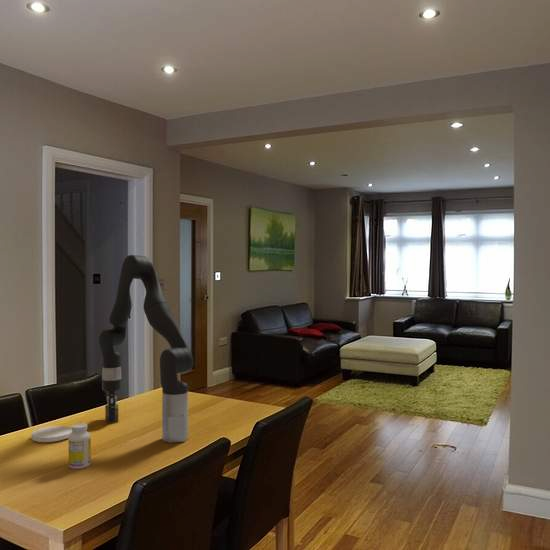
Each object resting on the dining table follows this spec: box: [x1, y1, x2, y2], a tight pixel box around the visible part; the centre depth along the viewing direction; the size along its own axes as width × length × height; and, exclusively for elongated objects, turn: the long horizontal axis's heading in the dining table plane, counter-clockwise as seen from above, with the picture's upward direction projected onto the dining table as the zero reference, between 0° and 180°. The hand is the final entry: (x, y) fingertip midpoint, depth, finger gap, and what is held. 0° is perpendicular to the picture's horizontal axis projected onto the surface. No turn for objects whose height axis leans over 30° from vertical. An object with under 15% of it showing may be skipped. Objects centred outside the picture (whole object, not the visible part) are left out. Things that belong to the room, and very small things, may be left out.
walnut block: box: [104, 403, 119, 424], centre depth 218 cm, size 5×5×6 cm
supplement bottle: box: [67, 422, 92, 470], centre depth 169 cm, size 7×7×13 cm
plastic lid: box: [31, 425, 72, 443], centre depth 197 cm, size 14×14×2 cm
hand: (111, 419), depth 218 cm, fingers closed on walnut block, 5 cm apart
